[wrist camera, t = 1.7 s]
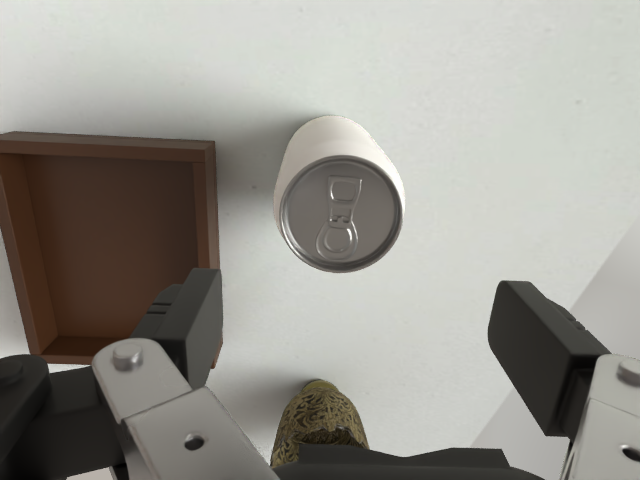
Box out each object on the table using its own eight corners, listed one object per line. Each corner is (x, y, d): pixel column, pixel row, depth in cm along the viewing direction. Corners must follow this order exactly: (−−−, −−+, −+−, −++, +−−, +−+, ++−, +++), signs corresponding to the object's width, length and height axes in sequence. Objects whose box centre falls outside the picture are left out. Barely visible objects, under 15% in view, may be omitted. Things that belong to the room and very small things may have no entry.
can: (281, 201, 32) (265, 275, 21) (288, 109, 30) (273, 137, 18) (369, 209, 32) (400, 287, 21) (383, 119, 30) (425, 152, 19)
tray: (13, 131, 30) (-21, 138, 27) (215, 140, 30) (204, 149, 27) (55, 338, 36) (31, 363, 33) (222, 343, 36) (214, 369, 33)
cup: (263, 408, 39) (252, 490, 32) (299, 346, 37) (295, 418, 29) (338, 436, 40) (344, 520, 33) (377, 377, 38) (393, 453, 31)
